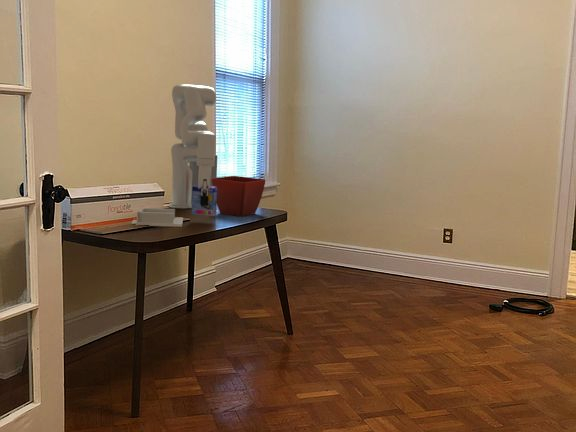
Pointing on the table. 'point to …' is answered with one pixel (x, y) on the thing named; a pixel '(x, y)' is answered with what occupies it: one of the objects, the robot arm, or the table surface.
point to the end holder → (158, 217)
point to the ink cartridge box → (202, 209)
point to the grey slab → (195, 171)
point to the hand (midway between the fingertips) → (204, 203)
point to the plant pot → (238, 194)
